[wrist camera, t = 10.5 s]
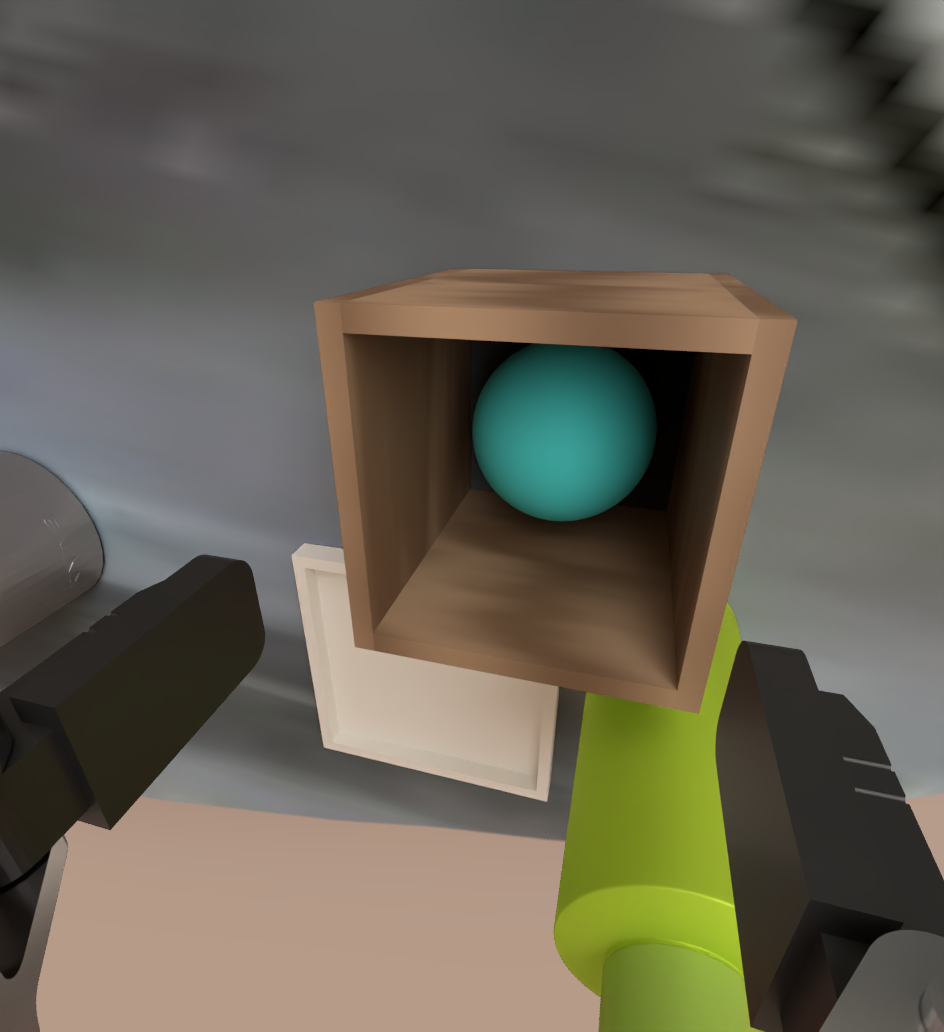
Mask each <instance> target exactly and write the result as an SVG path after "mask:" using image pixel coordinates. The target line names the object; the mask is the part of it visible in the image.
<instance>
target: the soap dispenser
mask: <svg viewBox="0 0 944 1032" xmlns="http://www.w3.org/2000/svg"><path fill="white" fill-rule="evenodd" d="M740 643H741V638H740V633H739V628H738V624H737V620H736V617H735V615H734V613H733V611H732V609H731V607H730V606H729V604H728V603H727V605H726V609H725V613H724V617H723V621H722V625H721V628H720V632H719V636H718V640H717V644H716V648H715V652H714V656H713V660H712V664H711V668H710V672H709V676H708V680H707V684H706V688H705V692H704V696H703V700H702V704H701V708H700V712H699V714H697V713H692V712H686V711H681V710H676V709H671V708H666V707H661V706H655V705H650V704H645V703H640V702H635V701H630V700H625V699H619V698H614V697H609V696H604V695H599V694H594V693H589V692H586V697H585V704H584V712H583V719H582V726H581V734H580V741H579V748H578V756H577V763H576V770H575V778H574V785H573V792H572V800H571V807H570V814H569V821H568V829H567V836H566V843H565V851H564V858H563V865H562V873H561V880H560V888H559V895H558V903H557V910H556V917H555V924H554V940H555V944H556V948H557V950H558V953H559V955H560V957H561V958H562V960H563V962H564V963H565V965H566V966H567V967H568V969H569V970H570V971H571V972H572V974H573V975H574V976H575V977H576V978H577V979H578V980H579V981H580V982H581V983H583V984H584V985H585V986H586V987H587V988H589V989H590V990H591V991H592V992H594V993H595V994H597V995H598V996H599V997H601V1002H600V1003H601V1004H600V1018H599V1032H764V1031H761V1030H758V1029H755V1028H751V1027H750V1020H749V1013H748V1005H747V997H746V990H745V982H744V974H743V967H742V959H741V951H740V944H739V936H738V928H737V921H736V913H735V905H734V898H733V890H732V882H731V875H730V867H729V859H728V852H727V844H726V836H725V829H724V821H723V813H722V806H721V798H720V790H719V783H718V775H717V767H716V756H715V743H716V730H717V724H718V719H719V715H720V711H721V707H722V703H723V700H724V696H725V692H726V689H727V685H728V681H729V678H730V674H731V670H732V667H733V663H734V659H735V655H736V652H737V649H738V647H739V645H740Z"/></svg>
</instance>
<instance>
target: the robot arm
mask: <svg viewBox="0 0 944 1032" xmlns="http://www.w3.org/2000/svg"><path fill="white" fill-rule="evenodd" d="M102 567H103V551H102V547H101V543H100V539H99V536H98V534H97V531H96V529H95V527H94V525H93V522H92V520H91V519H90V517H89V515H88V514H87V512H86V511H85V509H84V507H83V506H82V504H81V503H80V502H79V501H78V500H77V498H76V497H75V496H74V495H73V493H72V492H71V491H70V490H69V489H68V488H67V487H66V486H65V485H64V484H63V483H62V482H61V481H60V480H59V479H58V478H57V477H55V476H54V475H53V474H51V473H50V472H49V471H47V470H46V469H45V468H43V467H42V466H41V465H39V464H37V463H35V462H33V461H31V460H29V459H28V458H26V457H23V456H20V455H17V454H14V453H11V452H4V451H0V647H1V646H3V645H4V644H6V643H7V642H9V641H10V640H12V639H14V638H15V637H17V636H18V635H20V634H21V633H23V632H24V631H26V630H27V629H29V628H31V627H32V626H34V625H35V624H37V623H38V622H40V621H41V620H43V619H44V618H46V617H47V616H49V615H50V614H52V613H53V612H55V611H57V610H58V609H60V608H61V607H63V606H64V605H66V604H67V603H69V602H70V601H72V600H73V599H75V598H76V597H78V596H79V595H81V594H82V593H84V592H85V591H87V590H88V589H90V588H91V587H92V586H94V585H95V584H96V582H97V581H98V579H99V577H100V576H101V572H102ZM264 642H265V630H264V625H263V620H262V616H261V611H260V606H259V601H258V596H257V592H256V587H255V582H254V577H253V573H252V570H251V568H250V566H249V565H248V563H246V562H245V561H243V560H236V559H230V558H223V557H217V556H211V555H200V556H197V557H196V558H194V559H193V560H191V561H190V562H189V563H187V564H186V565H185V566H183V567H182V568H181V569H179V570H178V571H177V572H175V573H174V574H172V575H171V576H170V577H168V578H167V579H166V580H164V581H162V582H160V583H157V584H155V585H153V586H151V587H149V588H146V589H144V590H142V591H140V592H138V593H136V594H135V595H133V596H132V597H131V598H129V599H128V600H127V601H125V602H124V603H122V604H121V605H120V606H118V607H117V608H116V609H114V610H113V611H111V615H110V616H105V617H103V618H102V619H100V620H99V621H98V622H96V623H95V624H94V625H92V626H91V627H90V628H89V631H88V632H87V633H86V632H83V633H81V634H80V635H79V636H77V637H76V638H74V639H73V640H72V641H70V642H69V643H68V644H66V645H65V646H63V647H62V648H61V649H59V650H58V651H57V652H55V653H54V654H52V655H51V656H50V657H48V658H47V659H46V660H44V661H43V662H41V663H40V664H39V665H37V666H36V667H35V668H33V669H32V670H31V671H29V672H28V673H26V674H25V675H24V676H22V677H21V678H20V679H18V680H17V681H15V682H14V683H13V684H11V685H10V686H9V687H7V688H6V689H4V690H3V691H2V692H0V1032H40V1028H39V1024H38V1018H37V1012H36V994H37V985H38V980H39V976H40V972H41V967H42V963H43V959H44V954H45V950H46V945H47V941H48V936H49V932H50V927H51V923H52V919H53V914H54V910H55V906H56V902H57V897H58V892H59V888H60V884H61V880H62V875H63V871H64V866H65V862H66V858H67V852H68V844H67V840H66V838H65V836H64V834H65V833H66V832H67V831H68V830H69V829H70V828H71V827H72V826H73V825H74V824H75V822H76V821H77V820H78V821H82V822H85V823H88V824H92V825H95V826H98V827H102V828H105V829H108V830H111V829H112V828H113V827H114V825H115V824H116V823H117V822H118V821H119V820H120V819H121V817H122V816H123V815H124V814H125V813H126V812H127V811H128V810H129V808H130V807H131V806H132V805H133V804H134V803H135V801H136V800H137V799H138V798H139V797H140V796H141V795H142V794H143V793H144V791H145V790H146V789H147V788H148V787H149V786H150V785H151V783H152V782H153V781H154V780H155V779H156V778H157V777H158V775H159V774H160V773H161V772H162V771H163V770H164V769H165V768H166V766H167V765H168V764H169V763H170V762H171V761H172V760H173V758H174V757H175V756H176V755H177V754H178V753H179V752H180V750H181V749H182V748H183V747H184V746H185V745H186V744H187V743H188V741H189V740H190V739H191V738H192V737H193V736H194V735H195V733H196V732H197V731H198V730H199V729H200V728H201V727H202V725H203V724H204V723H205V722H206V721H207V720H208V719H209V718H210V716H211V715H212V714H213V713H214V712H215V711H216V710H217V708H218V707H219V706H220V705H221V704H222V703H223V702H224V701H225V699H226V698H227V697H228V696H229V695H230V694H231V693H232V691H233V690H234V689H235V688H236V687H237V686H238V685H239V683H240V682H241V681H242V680H243V679H244V678H245V677H246V676H247V674H248V673H249V672H250V671H251V670H252V669H253V667H254V666H255V665H256V663H257V662H258V660H259V658H260V656H261V653H262V651H263V647H264ZM715 756H716V767H717V775H718V783H719V790H720V798H721V806H722V813H723V821H724V829H725V836H726V844H727V852H728V859H729V867H730V875H731V882H732V890H733V898H734V905H735V913H736V921H737V928H738V936H739V944H740V951H741V959H742V967H743V974H744V982H745V990H746V997H747V1005H748V1013H749V1020H750V1027H751V1028H755V1029H758V1030H761V1031H764V1032H944V880H943V878H942V875H941V873H940V871H939V869H938V866H937V864H936V862H935V860H934V858H933V856H932V853H931V851H930V849H929V847H928V844H927V843H926V840H925V838H924V836H923V834H922V831H921V829H920V827H919V825H918V822H917V820H916V818H915V816H914V813H913V811H912V809H911V807H910V805H909V804H906V803H905V794H904V791H903V789H902V787H901V785H900V783H899V780H898V778H897V776H896V774H895V772H893V771H891V763H890V761H889V758H888V756H887V754H886V752H885V750H884V747H883V745H882V743H881V741H880V739H879V736H878V734H877V732H876V730H875V728H874V727H873V726H872V725H871V724H870V722H869V721H868V720H867V719H866V718H865V717H864V716H863V715H862V714H861V713H860V712H859V711H858V710H857V709H856V708H855V707H854V706H853V704H852V703H851V702H850V701H849V700H848V699H847V698H846V697H845V696H844V695H841V694H836V693H830V692H824V691H819V690H818V688H817V685H816V682H815V680H814V677H813V674H812V672H811V669H810V666H809V663H808V661H807V658H806V656H805V654H804V653H803V651H801V650H799V649H793V648H786V647H780V646H774V645H767V644H761V643H755V642H748V641H742V642H741V643H740V645H739V647H738V649H737V652H736V655H735V659H734V663H733V667H732V670H731V674H730V678H729V681H728V685H727V689H726V692H725V696H724V700H723V703H722V707H721V711H720V715H719V719H718V724H717V730H716V743H715Z"/></svg>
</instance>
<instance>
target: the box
mask: <svg viewBox="0 0 944 1032" xmlns="http://www.w3.org/2000/svg"><path fill="white" fill-rule="evenodd" d="M314 309H315V318H316V326H317V335H318V343H319V351H320V360H321V368H322V376H323V385H324V393H325V401H326V410H327V418H328V427H329V435H330V443H331V452H332V460H333V468H334V477H335V485H336V494H337V502H338V510H339V519H340V527H341V535H342V544H343V552H344V560H345V569H346V577H347V586H348V594H349V602H350V611H351V619H352V627H353V636H354V644H355V647H357V648H362V649H367V650H372V651H378V652H383V653H388V654H393V655H398V656H403V657H409V658H414V659H419V660H424V661H429V662H434V663H439V664H445V665H450V666H455V667H460V668H465V669H470V670H475V671H481V672H486V673H491V674H496V675H501V676H506V677H511V678H517V679H522V680H527V681H532V682H537V683H542V684H547V685H553V686H558V687H563V688H568V689H573V690H578V691H583V692H589V693H594V694H599V695H604V696H609V697H614V698H619V699H625V700H630V701H635V702H640V703H645V704H650V705H655V706H661V707H666V708H671V709H676V710H681V711H686V712H692V713H697V714H699V712H700V708H701V704H702V700H703V696H704V692H705V688H706V684H707V680H708V676H709V672H710V668H711V664H712V660H713V656H714V652H715V648H716V644H717V640H718V636H719V632H720V628H721V625H722V621H723V617H724V613H725V609H726V605H727V601H728V597H729V593H730V589H731V585H732V581H733V577H734V573H735V569H736V565H737V561H738V557H739V553H740V549H741V545H742V541H743V537H744V533H745V529H746V525H747V521H748V517H749V513H750V509H751V505H752V501H753V497H754V493H755V489H756V485H757V481H758V477H759V473H760V469H761V465H762V461H763V457H764V453H765V449H766V445H767V441H768V437H769V433H770V429H771V425H772V421H773V417H774V414H775V410H776V406H777V402H778V398H779V394H780V390H781V386H782V382H783V378H784V374H785V370H786V366H787V362H788V358H789V354H790V350H791V346H792V342H793V338H794V334H795V330H796V326H797V322H798V320H796V319H795V318H793V317H792V316H790V315H789V314H787V313H786V312H784V311H783V310H781V309H780V308H778V307H777V306H775V305H774V304H772V303H771V302H769V301H768V300H766V299H765V298H764V297H762V296H761V295H759V294H758V293H756V292H755V291H753V290H752V289H750V288H749V287H747V286H746V285H744V284H743V283H741V282H740V281H738V280H737V279H735V278H734V277H732V276H731V275H729V274H696V273H649V272H602V271H555V270H508V269H460V268H454V269H450V270H445V271H441V272H437V273H433V274H429V275H425V276H420V277H416V278H412V279H408V280H404V281H400V282H395V283H391V284H387V285H383V286H379V287H374V288H370V289H366V290H362V291H358V292H354V293H349V294H345V295H341V296H337V297H333V298H328V299H324V300H320V301H316V302H314ZM471 340H484V341H503V342H523V343H542V344H561V345H580V346H600V347H619V348H638V349H658V350H677V351H695V355H694V361H693V367H692V372H691V378H690V384H689V389H688V395H687V401H686V406H685V412H684V418H683V423H682V429H681V435H680V440H679V446H678V452H677V457H676V463H675V469H674V474H673V480H672V486H671V491H670V497H669V503H668V508H667V511H660V510H652V509H643V508H635V507H626V506H617V505H615V506H613V507H611V508H610V509H608V510H606V511H604V512H602V513H600V514H598V515H595V516H592V517H589V518H585V519H580V520H575V521H550V520H544V519H540V518H536V517H533V516H530V515H528V514H525V513H523V512H521V511H519V510H518V509H516V508H514V507H512V506H511V505H510V504H508V503H507V502H506V501H504V500H503V499H502V498H501V497H500V496H499V495H498V494H497V493H496V492H495V491H488V490H480V489H471Z"/></svg>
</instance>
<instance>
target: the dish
mask: <svg viewBox="0 0 944 1032" xmlns="http://www.w3.org/2000/svg"><path fill="white" fill-rule="evenodd" d="M292 561H293V567H294V573H295V579H296V585H297V591H298V597H299V603H300V608H301V614H302V620H303V626H304V632H305V638H306V644H307V650H308V656H309V662H310V668H311V674H312V680H313V686H314V691H315V697H316V703H317V709H318V715H319V721H320V727H321V733H322V739H323V745H324V748H328V749H332V750H336V751H341V752H345V753H349V754H353V755H357V756H361V757H365V758H369V759H373V760H378V761H382V762H386V763H390V764H394V765H398V766H402V767H406V768H410V769H415V770H419V771H423V772H427V773H431V774H435V775H439V776H443V777H447V778H451V779H456V780H460V781H464V782H468V783H472V784H476V785H480V786H484V787H488V788H493V789H497V790H501V791H505V792H509V793H513V794H517V795H521V796H525V797H530V798H534V799H538V800H542V801H546V802H547V799H548V794H549V788H550V782H551V772H552V761H553V750H554V740H555V729H556V719H557V708H558V698H559V687H558V686H553V685H547V684H542V683H537V682H532V681H527V680H522V679H517V678H511V677H506V676H501V675H496V674H491V673H486V672H481V671H475V670H470V669H465V668H460V667H455V666H450V665H445V664H439V663H434V662H429V661H424V660H419V659H414V658H409V657H403V656H398V655H393V654H388V653H383V652H378V651H372V650H367V649H362V648H357V647H355V644H354V636H353V627H352V619H351V611H350V602H349V594H348V586H347V577H346V569H345V560H344V552H343V549H341V548H334V547H327V546H321V545H314V544H308V543H304V544H303V545H302V546H301V547H300V548H299V549H298V550H297V551H296V552H294V553H293V554H292Z"/></svg>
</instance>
